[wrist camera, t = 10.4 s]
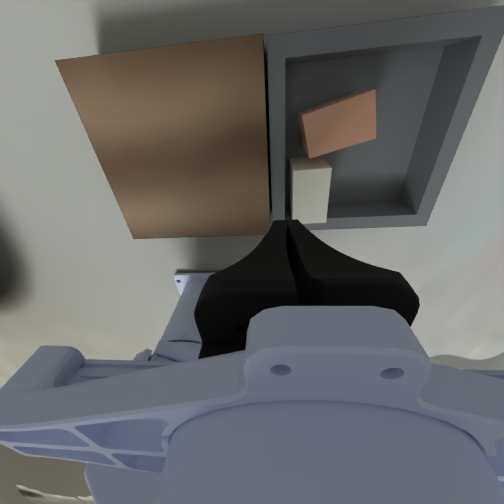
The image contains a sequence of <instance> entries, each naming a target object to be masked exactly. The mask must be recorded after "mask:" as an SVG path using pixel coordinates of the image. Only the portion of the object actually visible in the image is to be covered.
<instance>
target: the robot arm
mask: <svg viewBox="0 0 504 504" xmlns="http://www.w3.org/2000/svg"><path fill="white" fill-rule="evenodd" d="M174 280H175V283H176V286H177V288H178V291H179V294H180V299H179V301H178V303H177V305H176V308H175V310H174V312H173V314H172V316H171V318H170V321H169V323H168V325H167V327H166V329H165V331H164V334H163V336H162V338H161V340H160V341H159V343H158V345H157V347H156V349H155V351H154V353H153V355H152V354H151V353H152V350H149V349H145V350H144V352H140V353H138V354H137V355H136V356H135V358H134V360H133V361H132V360H94V359H85V358H84V356H83V355H82V353H81V352H80V351H79V350H77V349H76V348H73V347H70V346H40V347H39V349H38V350H37V351H36V352H35V353H34V354H33V355H32V356H31V357H30V358H29V359H28V360H27V361H26V362H25V363H24V364H23V366H22V367H21V368H20V369H19V370H18V371H17V372H16V373H15V374H14V375H13V376H12V377H11V378H10V379H9V380H8V382H7V383H6V384H5V385H4V386H3V387H2V388H1V389H0V444H2V445H4V446H6V447H8V448H10V449H12V450H14V451H16V452H18V453H20V454H23V455H25V456H35V457H46V458H56V459H64V460H72V461H79V462H86V464H88V465H87V467H86V469H85V471H84V476H85V480H86V483H87V485H88V487H89V490H90V492H91V494H92V497H93V499H94V502H95V504H504V370H471V369H458V368H453V367H450V366H445V365H441V364H437V363H433V362H431V360H430V359H429V357H428V355H427V354H426V352H425V350H424V349H423V347H422V346H421V344H420V342H419V341H418V339H417V337H416V336H415V334H414V333H413V331H412V329H411V328H410V327H411V325H412V323H413V321H414V319H415V317H416V315H417V313H418V309H419V306H420V304H419V298H418V296H417V295H416V293H415V292H414V290H413V289H412V287H411V286H410V285H409V283H408V282H407V281H406V279H405V278H404V277H403V276H402V275H401V274H400V272H396V271H392V270H388V269H384V268H380V267H376V266H373V265H370V264H367V263H364V262H361V261H359V260H356V259H354V258H351V257H349V256H347V255H345V254H343V253H341V252H339V251H337V250H335V249H333V248H332V247H330V246H328V245H327V244H325V243H324V242H322V241H321V240H320V239H318V238H317V237H316V236H315V235H313V234H312V233H311V232H310V231H309V230H308V229H307V228H306V227H305V226H304V225H303V224H302V223H301V222H300V221H299V220H298V219H293V220H274V221H273V222H272V225H271V227H270V229H269V231H268V232H267V234H266V236H265V237H264V238H263V240H262V241H261V242H260V243H259V245H258V246H257V247H256V248H255V249H254V250H253V251H252V252H251V253H250V254H248V255H247V256H246V257H244V258H243V259H242V260H240V261H239V262H237V263H235V264H234V265H232V266H230V267H228V268H226V269H224V270H222V271H219V272H209V273H176V274H175V275H174ZM179 280H180V281H179Z"/></svg>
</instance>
